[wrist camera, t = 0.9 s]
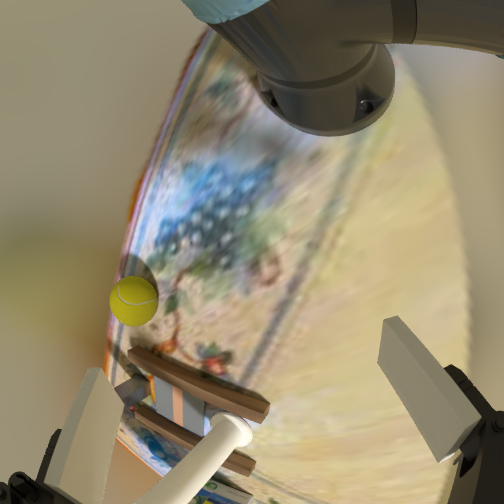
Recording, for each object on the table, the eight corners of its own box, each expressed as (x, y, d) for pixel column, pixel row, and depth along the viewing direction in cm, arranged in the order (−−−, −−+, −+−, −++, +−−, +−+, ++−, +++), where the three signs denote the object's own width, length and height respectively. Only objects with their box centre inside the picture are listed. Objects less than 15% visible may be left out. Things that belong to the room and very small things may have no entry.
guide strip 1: (137, 345, 44) (127, 350, 41) (270, 403, 34) (263, 413, 32) (138, 355, 44) (128, 360, 42) (267, 413, 35) (260, 424, 32)
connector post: (137, 374, 45) (97, 397, 36) (149, 381, 44) (108, 406, 35) (139, 386, 45) (100, 410, 36) (150, 394, 44) (111, 419, 35)
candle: (228, 446, 39) (132, 546, 16) (204, 415, 40) (92, 509, 17) (261, 440, 36) (163, 561, 13) (235, 406, 37) (115, 522, 14)
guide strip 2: (142, 405, 46) (134, 410, 44) (256, 461, 37) (249, 471, 35) (143, 412, 46) (135, 417, 44) (254, 467, 37) (248, 477, 35)
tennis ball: (144, 263, 40) (107, 270, 34) (174, 294, 39) (138, 307, 32) (129, 296, 43) (96, 306, 36) (157, 326, 41) (124, 342, 35)
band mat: (155, 369, 43) (153, 370, 42) (205, 394, 39) (204, 395, 38) (158, 411, 44) (156, 412, 44) (203, 435, 40) (202, 436, 40)
